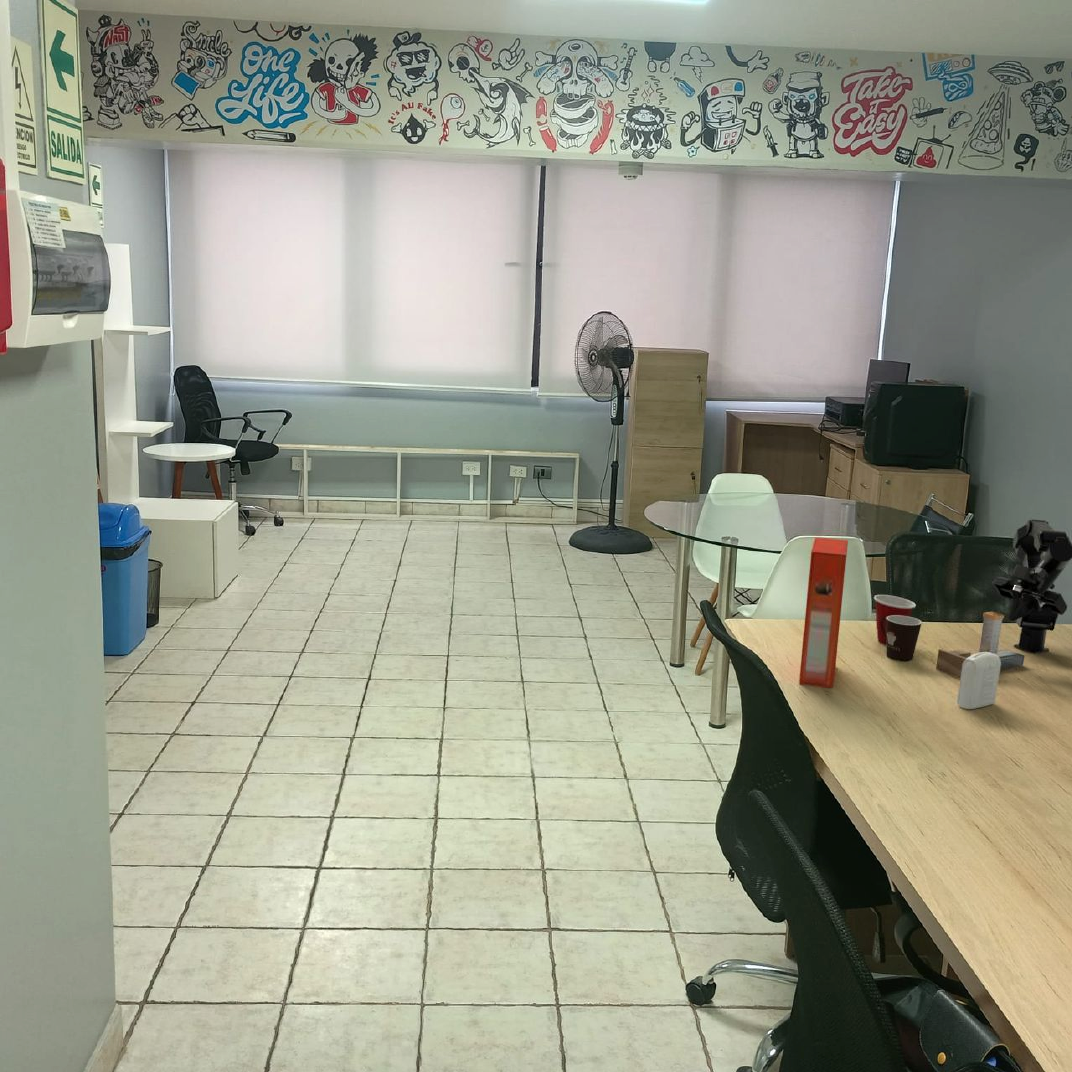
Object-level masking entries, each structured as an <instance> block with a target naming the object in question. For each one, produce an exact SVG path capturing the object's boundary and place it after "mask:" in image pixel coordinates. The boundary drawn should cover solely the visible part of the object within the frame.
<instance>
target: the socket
mask: <svg viewBox="0 0 1072 1072" xmlns="http://www.w3.org/2000/svg"><path fill="white" fill-rule="evenodd" d="M970 656H972V652H970V651H968V650H966V649H961V648H960V649H957V650H956V649H955V650H950V651H949V650H946V649H943V648H939V649H938V651H937V658H936V665H935V669H936V670H939V671H942V672H943V673H947V674H949V675H952V676H954V677H957V678H960V679H961V672H962V665H963V662H964V661H965V660H966V659H967V658H968V657H970Z"/></svg>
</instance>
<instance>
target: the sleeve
mask: <svg viewBox="0 0 1072 1072" xmlns="http://www.w3.org/2000/svg"><path fill="white" fill-rule="evenodd" d="M1004 650H1009V649H1001V650H999V651H1004ZM1017 653H1018V652H1017ZM1000 661H1001V666H1000V671H1002V670H1007V669H1014V668H1019V667H1023V666H1024V662H1025V654H1022V653H1018V655H1016V656H1010V657H1005V658H1000Z"/></svg>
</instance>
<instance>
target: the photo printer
mask: <svg viewBox="0 0 1072 1072" xmlns="http://www.w3.org/2000/svg"><path fill="white" fill-rule="evenodd" d="M1000 666H1001V661H1000V658H999V656H998V655H996V654H993V653H990V652H980V653H979V652H977V653H975V654H971V656H970V657H968V658H967V659H966V660H965V661H964V662H963V665H962V672H961V678H960V680H959V685H958V686H959V688H958V693H957V701H956V702H957V703H956V704H957V705H958V706H959V707H960V708H962V709H965V710H975V709H978V708H983V707H987V706H991V705H994V704H995V702H996V698H997V692H998V686H999V679H1000V673H1001V672H1000V671H1001V670H1000Z"/></svg>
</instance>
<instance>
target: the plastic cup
mask: <svg viewBox="0 0 1072 1072" xmlns="http://www.w3.org/2000/svg"><path fill="white" fill-rule="evenodd" d="M873 599H874V602H875V617H876V618H875V619H876V621H875V623H876V633H877V634H876V635H877V641H878V643H879V644H882V645H885V646H886V637H885V635H884V634H883V632H882V630H881V627H880V622H881V620H882V619H883V618H887V617H888V616H892V615H900V616H908V617H911V616H910V615H911V614H912V612H913V610H914V609H915V608H916V606H917V605H916V603H915V602H914V601H911V600H909V599H906V598H903V597H901V596H900V597H899V596H895V595H889V594H877V595H876V594H875V595H874V597H873ZM883 629H884V631H885V633H886V620H884V621H883Z"/></svg>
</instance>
